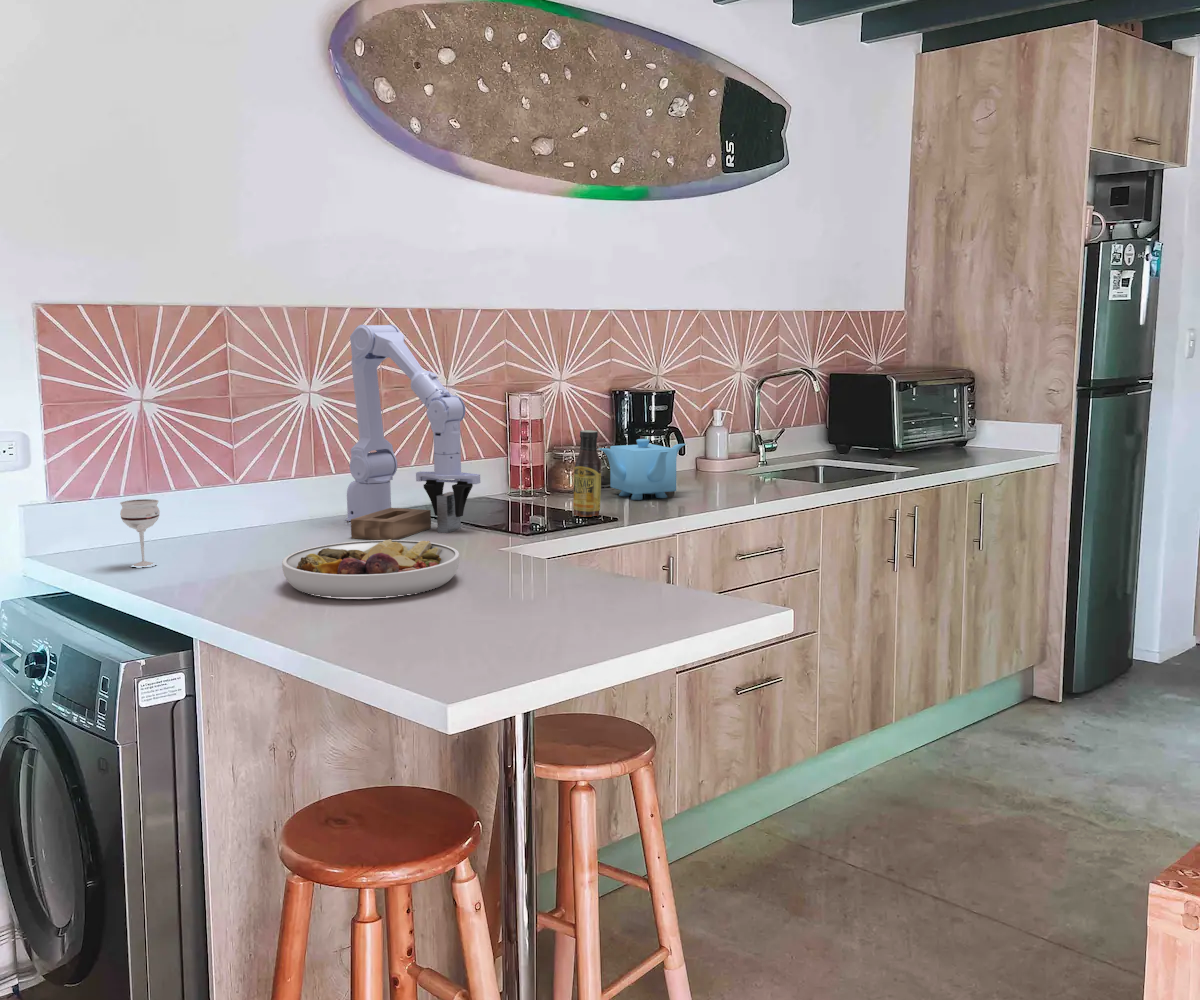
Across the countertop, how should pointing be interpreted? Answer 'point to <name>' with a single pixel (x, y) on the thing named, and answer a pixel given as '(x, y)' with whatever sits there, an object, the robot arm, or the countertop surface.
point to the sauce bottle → (587, 477)
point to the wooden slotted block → (390, 524)
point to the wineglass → (140, 519)
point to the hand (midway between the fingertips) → (448, 515)
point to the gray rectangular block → (447, 513)
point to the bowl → (371, 568)
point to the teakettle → (642, 469)
